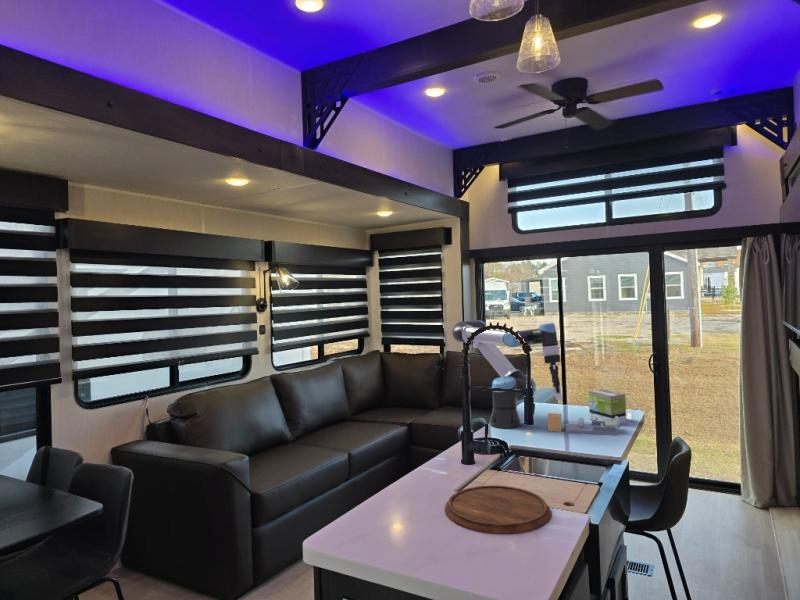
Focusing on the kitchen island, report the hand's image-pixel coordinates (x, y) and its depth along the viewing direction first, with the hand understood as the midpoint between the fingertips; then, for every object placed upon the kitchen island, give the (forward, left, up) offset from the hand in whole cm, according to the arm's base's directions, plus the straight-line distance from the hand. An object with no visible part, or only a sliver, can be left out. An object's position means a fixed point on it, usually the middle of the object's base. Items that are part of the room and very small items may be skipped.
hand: (558, 398), depth 253 cm
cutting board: (-17, -104, -15) cm, 106 cm away
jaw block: (-2, -5, -14) cm, 15 cm away
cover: (+24, -4, -11) cm, 26 cm away
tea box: (+23, +16, -14) cm, 32 cm away
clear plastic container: (+14, -4, -14) cm, 20 cm away
